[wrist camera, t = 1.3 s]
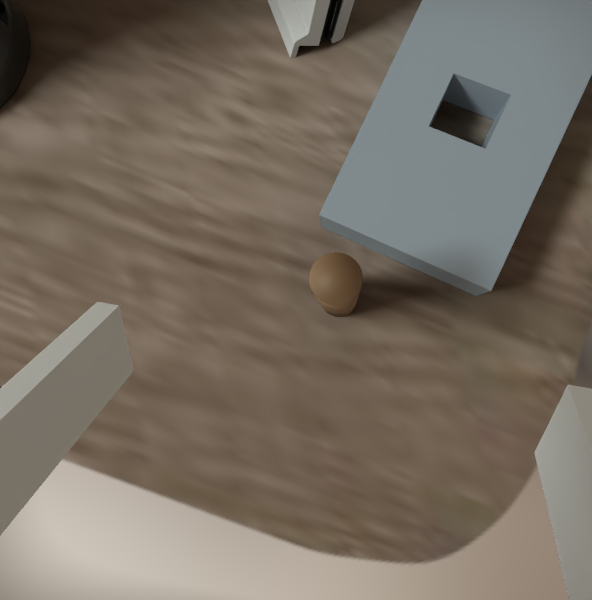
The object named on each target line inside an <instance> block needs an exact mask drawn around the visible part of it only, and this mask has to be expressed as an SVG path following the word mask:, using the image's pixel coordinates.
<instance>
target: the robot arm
mask: <svg viewBox="0 0 592 600" xmlns="http://www.w3.org/2000/svg"><path fill="white" fill-rule="evenodd" d="M28 55H29V33H28V28H27V24H26V21H25V18H24V16H23V14H22V12H21V10H20V9H19V7H18V6H17V4H16V3H15V2H14V1H13V0H0V107H1V106H2V105H3V104H4V103H5V102H6V101H7V100H8V99H9V97H10V96H11V95H12V94H13V92H14V91H15V89H16V88H17V86H18V84H19V83H20V81H21V78H22V76H23V74H24V71H25V68H26V65H27V61H28ZM133 371H134V370H133V366H132V361H131V357H130V353H129V348H128V344H127V339H126V335H125V330H124V326H123V321H122V317H121V313H120V308H119V306H118V305H113V304H107V303H101V302H97V303H96V304H94V305H93V306H92V307H91V308H90V309H89V310H88V311H87V312H85V313H84V314H83V315H82V316H81V317H80V318H79V319H78V320H76V321H75V322H74V323H73V324H72V325H71V326H70V327H69V328H67V329H66V330H65V331H64V332H63V333H62V334H61V335H60V336H58V337H57V338H56V339H55V340H54V341H53V342H52V343H51V344H50V345H48V346H47V347H46V348H45V349H44V350H43V351H42V352H41V353H39V354H38V355H37V356H36V357H35V358H34V359H33V360H32V361H30V362H29V363H28V364H27V365H26V366H25V367H24V368H23V369H21V370H20V371H19V372H18V373H17V374H16V375H15V376H14V377H13V378H11V379H10V380H9V381H8V382H7V383H6V384H5V385H4V386H2V387H0V535H1V534H2V533H3V531H4V530H5V529H6V528H7V526H8V525H9V524H10V523H11V521H12V520H13V519H14V518H15V517H16V515H17V514H18V513H19V512H20V510H21V509H22V508H23V507H24V505H25V504H26V503H27V502H28V501H29V499H30V498H31V497H32V496H33V494H34V493H35V492H36V491H37V489H38V488H39V487H40V486H41V485H42V483H43V482H44V481H45V480H46V478H47V477H48V476H49V475H50V473H51V472H52V471H53V470H54V468H55V467H56V466H57V465H58V463H59V462H60V461H61V460H62V459H63V457H64V456H65V455H66V454H67V452H68V451H69V450H70V449H71V448H72V446H73V445H74V444H75V443H76V441H77V440H78V439H79V438H80V436H81V435H82V434H83V433H84V431H85V430H86V429H87V428H88V427H89V425H90V424H91V423H92V422H93V420H94V419H95V418H96V417H97V415H98V414H99V413H100V412H101V411H102V409H103V408H104V407H105V406H106V404H107V403H108V402H109V401H110V399H111V398H112V397H113V396H114V394H115V393H116V392H117V391H118V390H119V388H120V387H121V386H122V385H123V383H124V382H125V381H126V380H127V378H128V377H129V376H130V375H131V373H132V372H133ZM535 458H536V462H537V466H538V470H539V475H540V479H541V483H542V487H543V492H544V496H545V500H546V504H547V509H548V513H549V517H550V521H551V526H552V530H553V534H554V538H555V543H556V547H557V551H558V555H559V560H560V564H561V568H562V572H563V576H564V581H565V585H566V589H567V593H568V598H569V600H592V389H589V388H584V387H578V386H572V385H568V386H567V388H566V390H565V392H564V394H563V396H562V398H561V400H560V402H559V404H558V406H557V408H556V410H555V412H554V414H553V416H552V418H551V420H550V422H549V424H548V426H547V428H546V430H545V432H544V434H543V436H542V438H541V440H540V442H539V444H538V446H537V448H536V450H535Z"/></svg>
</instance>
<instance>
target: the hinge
mask: <svg viewBox="0 0 592 600" xmlns="http://www.w3.org/2000/svg"><path fill="white" fill-rule="evenodd" d="M354 1H355V0H268V3H269V5H270V8H271V10H272V13H273V15H274V18H275V20H276V23H277V26H278V28H279V31H280V33H281V36H282V38H283V41H284V43H285V46H286V48H287V51H288V54H289V56H290V58H294V57H296V55H297V52H298V48H299V46H319V43H320V40H323V37H324V33H325V34H326V37H327V39H330V40H331V42H332V44H333V43H335V42H338V41H339V40H341V39H342V38H343V37H344V34H345V30H346V27H347V24H348V21H349V17H350V14H351V11H352V7H353V4H354Z"/></svg>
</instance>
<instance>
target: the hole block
mask: <svg viewBox="0 0 592 600" xmlns="http://www.w3.org/2000/svg"><path fill="white" fill-rule="evenodd" d="M591 75H592V0H422V2H421V4H420V6H419V8H418V10H417V12H416V14H415V16H414V18H413V21H412V23H411V25H410V27H409V29H408V31H407V33H406V35H405V37H404V39H403V41H402V43H401V46H400V48H399V50H398V52H397V54H396V56H395V58H394V60H393V62H392V64H391V66H390V68H389V70H388V73H387V75H386V77H385V79H384V81H383V83H382V85H381V87H380V89H379V91H378V93H377V95H376V97H375V100H374V102H373V104H372V106H371V108H370V110H369V112H368V114H367V116H366V118H365V120H364V122H363V125H362V127H361V129H360V131H359V133H358V135H357V137H356V139H355V141H354V143H353V145H352V147H351V149H350V152H349V154H348V156H347V158H346V160H345V162H344V164H343V166H342V168H341V170H340V172H339V174H338V177H337V179H336V181H335V183H334V185H333V187H332V189H331V191H330V193H329V195H328V197H327V199H326V201H325V204H324V206H323V208H322V210H321V212H320V214H319V217H320V221H321V226H322V228H324V229H326V230H328V231H331V232H333V233H335V234H337V235H340V236H342V237H344V238H346V239H349V240H351V241H353V242H355V243H358V244H360V245H362V246H364V247H367V248H369V249H371V250H373V251H376V252H378V253H380V254H382V255H385V256H387V257H389V258H391V259H394V260H396V261H398V262H400V263H403V264H405V265H407V266H409V267H412V268H414V269H416V270H418V271H420V272H423V273H425V274H427V275H429V276H432V277H434V278H436V279H438V280H441V281H443V282H445V283H447V284H450V285H452V286H454V287H456V288H459V289H461V290H463V291H465V292H468V293H470V294H472V295H474V296H478V295H481V294H484V293H487V292H490V291H491V290H492V288H493V286H494V284H495V282H496V280H497V278H498V275H499V273H500V271H501V269H502V267H503V265H504V262H505V260H506V258H507V256H508V254H509V252H510V250H511V247H512V245H513V243H514V241H515V239H516V237H517V234H518V232H519V230H520V228H521V226H522V224H523V222H524V219H525V217H526V215H527V213H528V211H529V209H530V206H531V204H532V202H533V200H534V198H535V196H536V194H537V191H538V189H539V187H540V185H541V183H542V181H543V178H544V176H545V174H546V172H547V170H548V168H549V166H550V163H551V161H552V159H553V157H554V155H555V153H556V151H557V148H558V146H559V144H560V142H561V140H562V138H563V135H564V133H565V131H566V129H567V127H568V125H569V123H570V120H571V118H572V116H573V114H574V112H575V110H576V107H577V105H578V103H579V101H580V99H581V97H582V95H583V92H584V90H585V88H586V86H587V84H588V82H589V79H590V77H591ZM442 101H446V102H448V103H451V104H453V105H456V106H459V107H461V108H464V109H466V110H469V111H472V112H474V113H477V114H479V115H482V116H484V117H487V118H490V119H492V120H494V121H493V123H492V125H491V128H490V130H489V132H488V134H487V136H486V138H485V140H484V142H483V145H482V147H480V146H477V145H475V144H472V143H470V142H467V141H465V140H462V139H460V138H457V137H455V136H452V135H450V134H447V133H444V132H442V131H439V130H437V129H434V128H432V127H430V126H431V124H432V122H433V120H434V118H435V116H436V114H437V112H438V110H439V107H440V105H441V103H442Z"/></svg>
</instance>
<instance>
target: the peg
mask: <svg viewBox="0 0 592 600" xmlns="http://www.w3.org/2000/svg"><path fill="white" fill-rule="evenodd" d="M362 281H363V276H362V271H361V268H360V266H359V265H358V263H357V262H356V261H355V260H354V259H353V258H352V257H350V256H348V255H346V254H344V253H338V252H335V253H329V254H326V255H324V256H322V257H320V258H319V259H318V260H317V261H316V262H315V263H314V265H313V266H312V268H311V271H310V275H309V283H310V287H311V290H312V292H313V293H314V295H315V296H316V298H317V299H318V301H319V302H320V304H321V305H322V307H323V308H324V309H325V311H326V312H327V313H328V314H330V315H332V316H335V317H343V316H346V315H348V314H350V313H351V312H352V311H353V310H354V308H355V306H356V303H357V300H358V296H359V293H360V290H361V286H362Z"/></svg>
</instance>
